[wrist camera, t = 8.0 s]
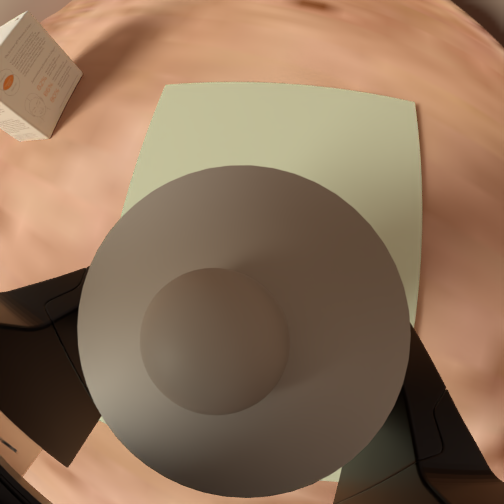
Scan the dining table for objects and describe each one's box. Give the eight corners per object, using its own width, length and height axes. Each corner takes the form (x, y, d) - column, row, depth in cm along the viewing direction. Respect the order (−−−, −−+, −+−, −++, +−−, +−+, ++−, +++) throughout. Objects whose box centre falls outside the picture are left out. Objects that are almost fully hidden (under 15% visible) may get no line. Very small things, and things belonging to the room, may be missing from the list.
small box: (51, 81, 25) (-2, 26, 15) (85, 73, 24) (29, 7, 14) (19, 143, 24) (-49, 95, 13) (50, 141, 22) (-26, 81, 12)
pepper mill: (342, 355, 15) (513, 495, 1) (248, 379, 15) (71, 553, 2) (317, 263, 16) (375, 35, 3) (225, 288, 17) (-7, 178, 3)
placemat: (373, 478, 14) (374, 483, 13) (95, 414, 17) (89, 416, 16) (412, 107, 18) (414, 102, 17) (168, 89, 21) (165, 84, 20)
